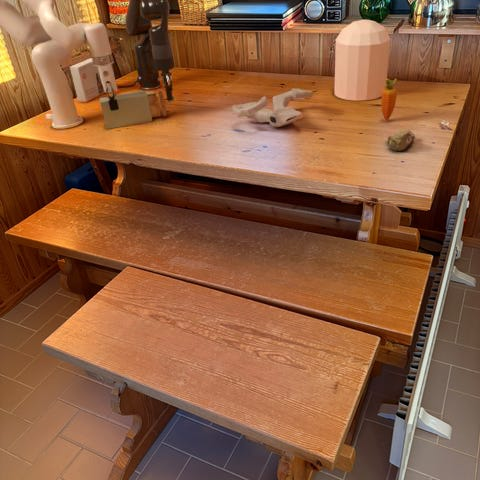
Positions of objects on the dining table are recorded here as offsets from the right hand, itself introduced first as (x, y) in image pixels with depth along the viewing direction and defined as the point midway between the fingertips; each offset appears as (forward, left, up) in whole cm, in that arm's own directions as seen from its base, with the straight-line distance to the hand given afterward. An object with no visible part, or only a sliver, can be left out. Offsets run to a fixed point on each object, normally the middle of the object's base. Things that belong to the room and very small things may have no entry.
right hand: (170, 100), depth 187 cm
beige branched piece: (+46, +8, -6) cm, 47 cm away
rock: (+92, +8, -6) cm, 93 cm away
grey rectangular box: (-11, -14, -6) cm, 19 cm away
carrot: (+80, +27, -6) cm, 85 cm away
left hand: (-14, -17, +1) cm, 22 cm away
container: (+58, +53, -6) cm, 79 cm away
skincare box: (-55, +6, -6) cm, 56 cm away
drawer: (-5, -7, -5) cm, 10 cm away
